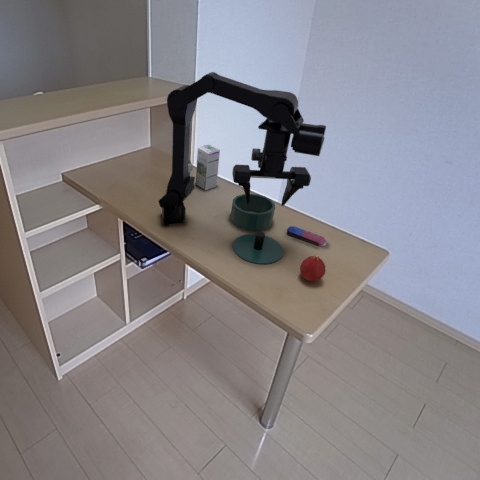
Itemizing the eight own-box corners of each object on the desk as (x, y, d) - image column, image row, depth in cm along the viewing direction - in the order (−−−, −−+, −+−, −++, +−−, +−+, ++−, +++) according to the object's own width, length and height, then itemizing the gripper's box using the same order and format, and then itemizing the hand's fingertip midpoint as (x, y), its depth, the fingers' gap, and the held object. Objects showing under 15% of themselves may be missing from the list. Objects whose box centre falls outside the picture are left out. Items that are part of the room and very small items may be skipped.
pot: (238, 234, 110) (241, 216, 106) (224, 212, 120) (227, 195, 116) (278, 230, 111) (282, 212, 108) (261, 209, 122) (264, 192, 118)
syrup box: (217, 186, 135) (221, 148, 127) (204, 191, 132) (207, 152, 124) (207, 181, 139) (210, 143, 130) (194, 184, 136) (197, 147, 128)
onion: (293, 273, 95) (300, 248, 90) (315, 272, 95) (323, 247, 91) (302, 288, 90) (310, 263, 86) (325, 287, 91) (334, 262, 86)
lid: (242, 268, 96) (245, 251, 93) (226, 239, 107) (228, 223, 104) (291, 263, 98) (295, 246, 95) (269, 234, 109) (273, 218, 106)
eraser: (327, 243, 106) (329, 238, 105) (322, 249, 103) (324, 244, 102) (289, 229, 112) (291, 224, 110) (284, 235, 109) (286, 230, 108)
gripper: (306, 138, 96) (294, 191, 105) (234, 135, 97) (227, 188, 106) (318, 154, 87) (303, 211, 96) (237, 151, 88) (230, 208, 97)
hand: (264, 204), depth 99 cm, fingers open, 9 cm apart
